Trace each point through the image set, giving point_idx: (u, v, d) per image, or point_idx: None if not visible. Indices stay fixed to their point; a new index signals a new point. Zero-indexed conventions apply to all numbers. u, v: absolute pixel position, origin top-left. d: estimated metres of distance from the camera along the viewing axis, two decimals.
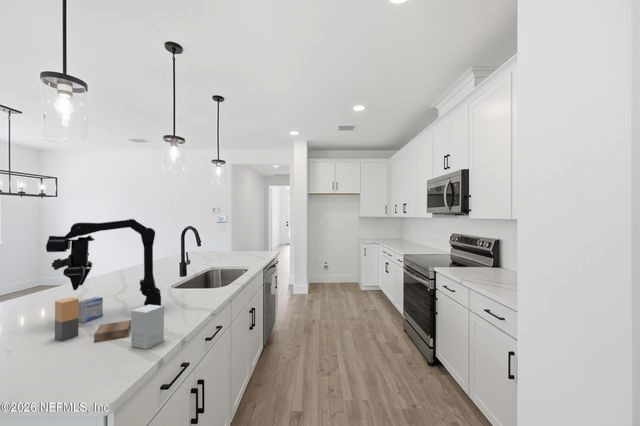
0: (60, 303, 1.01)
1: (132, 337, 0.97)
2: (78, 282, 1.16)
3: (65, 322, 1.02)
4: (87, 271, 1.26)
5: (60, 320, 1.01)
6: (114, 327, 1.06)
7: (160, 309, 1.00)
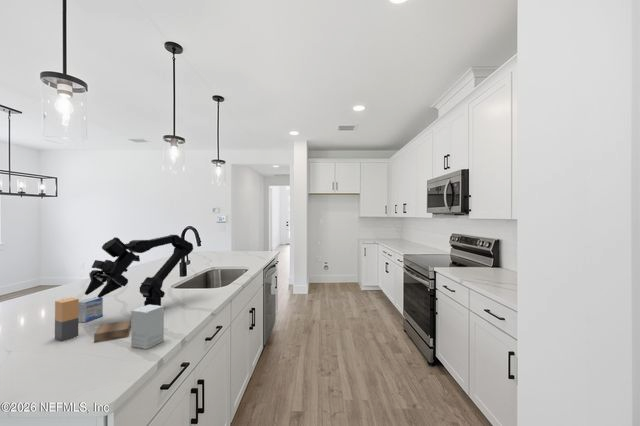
0: (60, 303, 1.01)
1: (132, 337, 0.97)
2: (108, 291, 1.12)
3: (65, 322, 1.02)
4: (100, 284, 1.19)
5: (60, 320, 1.01)
6: (114, 327, 1.06)
7: (160, 309, 1.00)
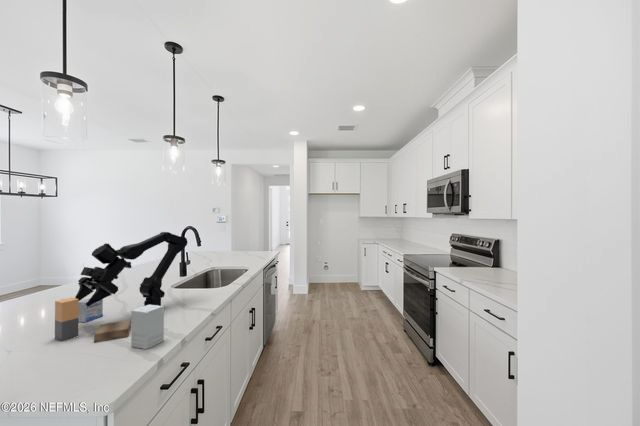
0: (60, 303, 1.01)
1: (132, 337, 0.97)
2: (97, 300, 1.08)
3: (65, 322, 1.02)
4: (90, 292, 1.15)
5: (60, 320, 1.01)
6: (114, 327, 1.06)
7: (160, 309, 1.00)
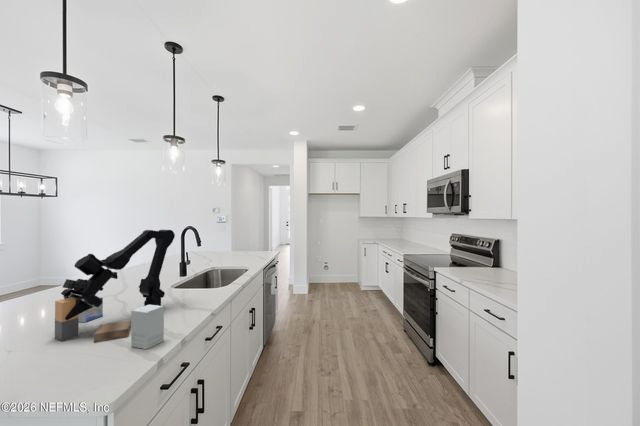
0: (60, 303, 1.01)
1: (132, 337, 0.97)
2: (77, 313, 1.04)
3: (65, 322, 1.02)
4: None
5: (60, 320, 1.01)
6: (114, 327, 1.06)
7: (160, 309, 1.00)
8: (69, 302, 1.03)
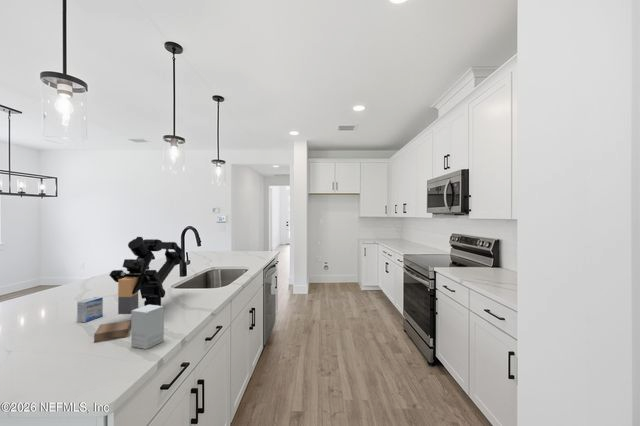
0: (127, 280, 1.14)
1: (132, 337, 0.97)
2: (140, 288, 1.18)
3: (132, 297, 1.15)
4: None
5: (128, 295, 1.14)
6: (114, 327, 1.06)
7: (160, 309, 1.00)
8: (134, 279, 1.16)
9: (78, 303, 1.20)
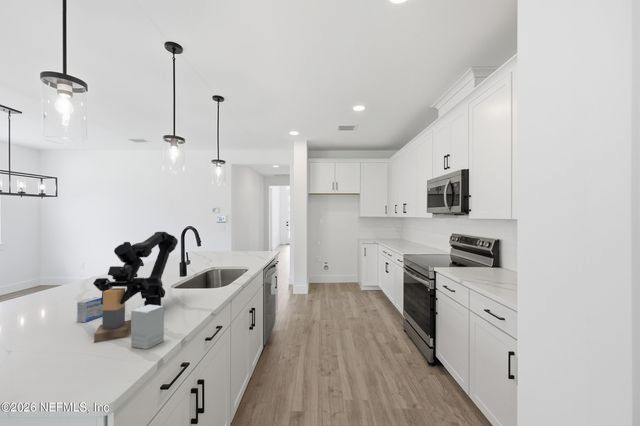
0: (113, 292, 1.05)
1: (132, 337, 0.97)
2: (129, 297, 1.09)
3: (118, 310, 1.06)
4: None
5: (113, 308, 1.05)
6: None
7: (160, 309, 1.00)
8: (120, 291, 1.07)
9: (78, 303, 1.20)
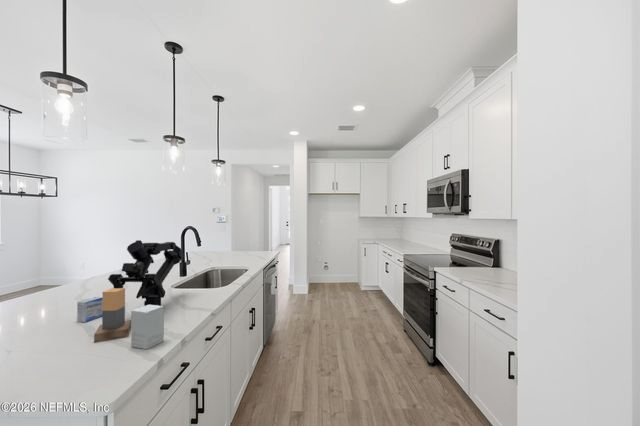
0: (113, 292, 1.05)
1: (132, 337, 0.97)
2: (144, 292, 1.17)
3: (118, 310, 1.06)
4: (121, 287, 1.19)
5: (113, 309, 1.04)
6: None
7: (160, 309, 1.00)
8: (120, 291, 1.07)
9: (78, 303, 1.20)
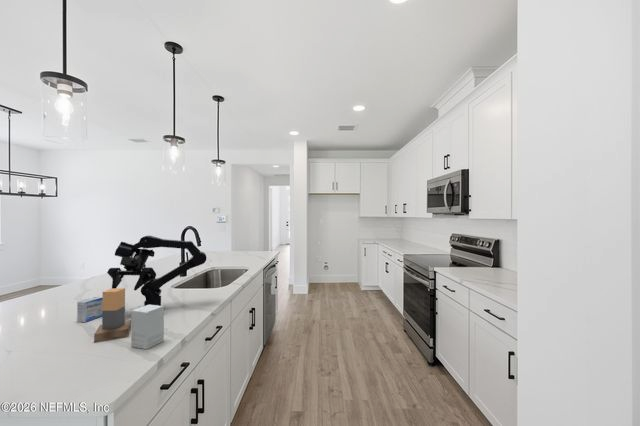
0: (113, 292, 1.05)
1: (132, 337, 0.97)
2: (141, 284, 1.23)
3: (118, 310, 1.06)
4: (120, 280, 1.25)
5: (113, 309, 1.04)
6: None
7: (160, 309, 1.00)
8: (120, 291, 1.07)
9: (78, 303, 1.20)
